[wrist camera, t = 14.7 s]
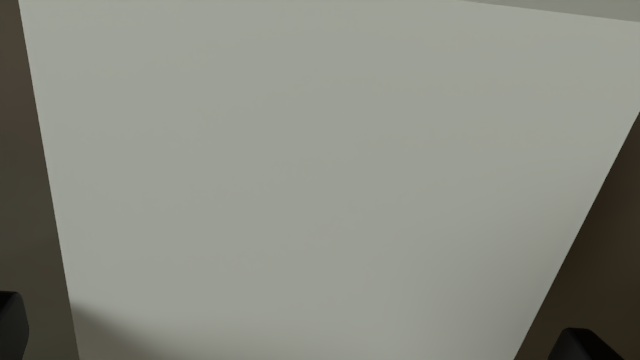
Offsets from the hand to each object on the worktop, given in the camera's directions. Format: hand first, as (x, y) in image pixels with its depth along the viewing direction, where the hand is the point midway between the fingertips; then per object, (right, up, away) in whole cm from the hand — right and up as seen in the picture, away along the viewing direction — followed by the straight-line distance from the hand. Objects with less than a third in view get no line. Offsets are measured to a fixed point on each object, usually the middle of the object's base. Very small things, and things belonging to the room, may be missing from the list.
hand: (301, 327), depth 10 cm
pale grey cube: (0, +7, +6) cm, 9 cm away
